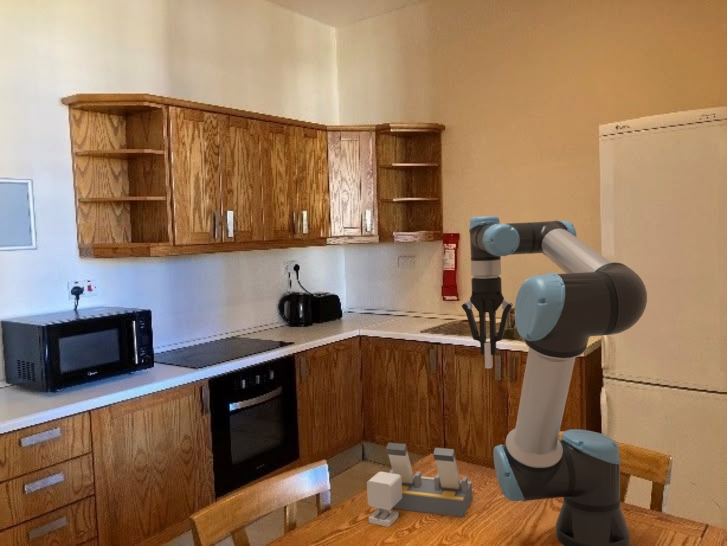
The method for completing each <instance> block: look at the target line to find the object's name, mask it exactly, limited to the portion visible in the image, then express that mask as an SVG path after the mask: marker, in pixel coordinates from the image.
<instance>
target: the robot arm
mask: <svg viewBox="0 0 727 546" xmlns="http://www.w3.org/2000/svg"><path fill="white" fill-rule="evenodd" d="M468 229H469V230H468V233H469V242H470V243H469V244H470V245H469V246H470V249H469V250H470V275H471V276H473V277H472V278H471V295H470V298H469V300H468V301H467V302H463V303H462V304H461V307H462V309H463V311H464V312H465V313H466V318H467V321H468V325H469V329H470V333H471V337H472V339H473V340H474V341H477V342H479V344H480V354H481V356H484V368H485V369H492V368H493V363H494V362H493V360H494V359H493V356H496V354H497V342H500V341H502V340H503V339H504V336H505V331H506V326H507V322H508V318H509V312H510V311H511V309H512V308H513V307H514V312H515V315H514V321H515V322H514V323H515V328H516V330H517V332H518V335H519V336H520V337H521V338H522V340H523V343H524V344H525V345H526V346H527V348H528V351H527V357H526V364H525V369H524V376H523V382H522V385H521V386H522V387H521V394H520V397H519V398H520V400H519V405H518V407H519V408H518V411H517V418H516V423H515V428H513V429H512V430H510V431H509V432H508V434H507V435H506V439H505V444H502V443H501V444H498V445H496V446H495V447H494V448H493V451H492V453H493V454H492V455H493V463H494V470H495V474H496V479H497V482H498V486H499V487H500V490H501V493H502V495H503V496H504V498H505V499H507V500H508V501H511V502H527V501H528V502H529V501H538V500H547V499H548V500H549V499H556V498H557V499H558V498H563V501H562V502H563V503H562V504H561V507H560V508H561V509H560V511H559V514H558V517H557V520H556V522H555V523H556V524H555V536H556V538H557V540H558V542H560V544H561V545H563V546H630V544H631V543H630V531H629V528H628V525H627V522H626V520H625V516H624V514H623V510H622V508H621V464H622V463H621V458H620V448H619V445H618V443H617V442H616V440H614V439H613V438H612V437H610V436H607V435H605V434H603V433H600V432H595V431H593V430H592V431H591V430H589V429H588V430H586V429H579V428H578V429H577V428H575V429H574V428H573V429H567V430H564V431H563V432H562V434H561V437H560V438H561V440H559V435H560V430H561V426H562V421H563V419H564V418H563V416H564V413H565V407H566V403H567V398H568V394H569V389H570V386H571V380H572V376H573V375H572V374H573V370H574V367H575V363H576V362H575V361H576V358H578V357H580V356H582V355H583V354H584V353H585V352H586V350H587V347H588V342H589V339H590V338H591V337H599V336H612V335H613V336H614V335H617V334H620V333H624V332H625V331H627V330H629V329H631V328H632V327H633V326H634V325H636V324H637V323H638V322H639V320H640V319H641V318H642V317H643V315H644V313H645V310H646V308H647V302H648V291H647V288H646V285H645V283H644V280H642V278H641V276H640V275H639V273H636V272H635V271H634V270H633V269H632V268H630V267H629V266H627V265H626V264H624V263H621V262H617V261H611V260H610V259H608V258H606V257H605V256H604V255H602V254H601V253H599V252H598V251H597V250H595V249H594V248H592V247H591V246H589V245H588V244H587V243H585V242H584V241H582V240H581V239H580V238H578V237H577V231H576V228H575V226H574V224H573V223H572V222H570V221H568V220H558V219H557V220H549V221H533V222H530V221H529V222H511V223H509V222H508V223H506V222H505V223H504V222H503V223H501V222H500V218H499V216H498V215H489V216H486V215H485V216H484V215H482V216H473V217H471V218H470V219H469V228H468ZM525 254H527V255H529V254H530V255H531V254H543V255H544V256H545V257H547V258H548V259H549V260H550V261H552V263H554V264H555V265H556V266H557V267H558V268H559V269H561V271H562V272H564V273H553V272H547V273H546V274H540V275H539V274H537V275H533V276H530V277H529V278H527V279H525V280H524V281H523V283H522V284H521V285H520V287H519V288H518V291H517V295H516V296H515V297H516V298H515V303H514V304H513V302H508V301H507V300H505V298H504V297H505V296H504V295H503V293H502V290H503V288H502V278H501V277H500V275H501V274H502V262H501V260H502V258H501V257H507V256H512V255H525ZM501 305H502V310H503V311H502V315H501V319H500V324H499V328H498V333H497V324H496V323H497V320H496V318H497V317H496V315H497V311H498V309H499V308H500V307H501ZM473 307H474V308H475V309H476V311H477V312H478V318H479V319H478V320H479V321H478V322H479V323H478V324H479V330H478V326H477V323H476V319H475V315H474V312H473ZM487 313H488V318H489V319H488V320H489V341H487V319H486V316H487Z"/></svg>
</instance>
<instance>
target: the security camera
mask: <svg viewBox="0 0 727 546" xmlns="http://www.w3.org/2000/svg"><path fill="white" fill-rule="evenodd" d="M366 495H367V496H366V497H367V505H368V506H369V507H371V508H376V510H375V511H373V513H371V514H370V515H369V516H368V523H369V524H373V525H378V526H383V527H388V528H389V527H391V526H392V524H394V523H395V521H397V519H398V518H399V511H397V510H396V511H395V510H392V509H394V508H393V507H394V506H395V505H396V504H397V503H398V502H399V501H400V500H401V499H402V481H401V476H400V475H399V474H393V473H389V472H385V471H378V472H377V473H376V474H375V475H373V476H372V477H371V478H370V479H369V480H367V481H366Z"/></svg>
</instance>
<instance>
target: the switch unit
mask: <svg viewBox="0 0 727 546" xmlns="http://www.w3.org/2000/svg"><path fill="white" fill-rule="evenodd" d="M388 473H393V470H392V468H391V469H390V470H389V472H388ZM393 474H394V473H393ZM413 476H414V485H413V484H405V483H402V499H401V500H400V501H399V502H398V503H397V504H396V505H395V506H394V507H393V508H392V509H396V510H397V509H398V510H404V511H412V512H420V513H426V514H435V515H444V516H450V517H459V518H464V516H465V514H466V512H467V510H468V508H469V506H470V504H471V501H472V499H473V483H472V481H470V480H469V479H468V476H467V475H466V476H465V475H463V477H462V479H460V484H461V488H462V490H457V489H449V488H441V487H440V483H441V482H440V478H439V474H438V472H437V473H436V475H435V476H434V477H433V476H432V477H430V476H425V475H424V476H422V471H417V470H416V472H415V474H413Z"/></svg>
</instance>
